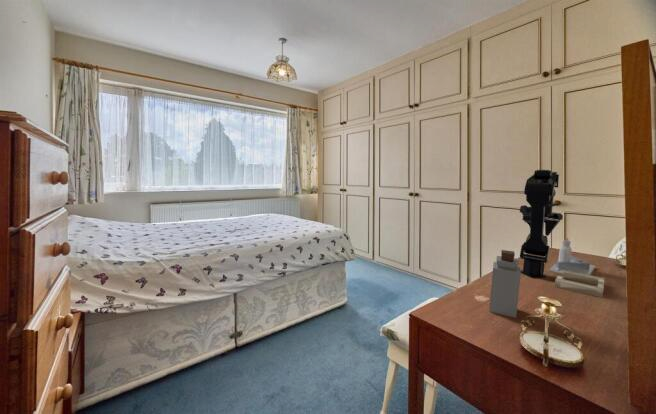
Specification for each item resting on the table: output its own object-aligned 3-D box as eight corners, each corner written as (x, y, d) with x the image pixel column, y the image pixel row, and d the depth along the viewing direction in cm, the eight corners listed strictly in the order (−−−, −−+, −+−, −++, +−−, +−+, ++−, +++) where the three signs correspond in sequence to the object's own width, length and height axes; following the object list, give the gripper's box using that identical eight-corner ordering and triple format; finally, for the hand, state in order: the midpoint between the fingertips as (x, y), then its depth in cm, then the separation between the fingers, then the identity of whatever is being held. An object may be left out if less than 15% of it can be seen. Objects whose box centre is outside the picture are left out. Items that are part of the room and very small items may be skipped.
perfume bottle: (515, 308, 88) (521, 251, 86) (516, 318, 82) (522, 256, 80) (489, 302, 91) (494, 247, 89) (489, 311, 86) (494, 253, 83)
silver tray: (549, 270, 121) (550, 261, 120) (560, 260, 134) (561, 252, 133) (587, 279, 112) (588, 269, 111) (594, 267, 125) (596, 258, 125)
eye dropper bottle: (553, 263, 127) (556, 236, 126) (565, 263, 127) (569, 236, 126) (561, 266, 123) (564, 239, 121) (574, 266, 123) (578, 239, 121)
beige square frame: (602, 297, 96) (603, 290, 95) (554, 286, 105) (555, 279, 104) (603, 284, 107) (604, 278, 106) (560, 275, 116) (561, 269, 115)
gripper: (537, 198, 135) (534, 230, 137) (512, 199, 127) (508, 234, 130) (565, 200, 125) (561, 236, 127) (539, 202, 117) (534, 240, 120)
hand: (540, 236), depth 126 cm, fingers open, 9 cm apart
